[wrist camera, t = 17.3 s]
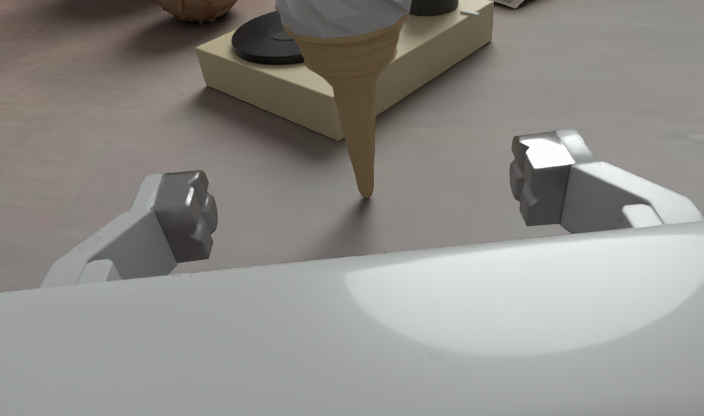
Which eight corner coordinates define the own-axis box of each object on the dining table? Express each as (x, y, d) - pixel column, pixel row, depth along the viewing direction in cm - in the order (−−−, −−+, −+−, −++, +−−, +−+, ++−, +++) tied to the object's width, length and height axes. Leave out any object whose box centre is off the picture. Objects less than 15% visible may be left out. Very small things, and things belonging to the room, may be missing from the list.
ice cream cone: (420, 164, 30) (410, -161, 20) (420, 233, 26) (407, -137, 16) (321, 167, 31) (267, -144, 21) (305, 234, 26) (228, -118, 17)
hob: (366, 6, 50) (362, -30, 48) (506, 36, 42) (509, -6, 40) (205, 85, 41) (193, 45, 39) (345, 144, 32) (339, 97, 30)
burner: (300, 6, 43) (298, -3, 43) (386, 26, 38) (385, 17, 38) (207, 47, 39) (205, 38, 38) (291, 77, 33) (289, 67, 33)
